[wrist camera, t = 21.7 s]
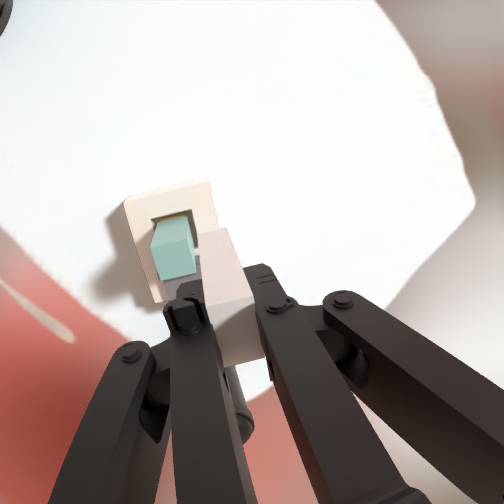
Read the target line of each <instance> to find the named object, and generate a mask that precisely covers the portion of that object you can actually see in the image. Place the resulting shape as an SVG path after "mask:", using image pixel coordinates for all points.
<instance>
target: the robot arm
mask: <svg viewBox="0 0 504 504" xmlns="http://www.w3.org/2000/svg"><path fill="white" fill-rule="evenodd" d="M12 5H13V0H0V36H1V34H2V32H3V31H4V29H5V27H6V25H7V23H8V20H9V18H10V15H11V11H12ZM197 238H198V248H199V257H200V265H201V274H202V279H198V280H193V281H189V282H185V283H181V284H180V286H179V287H178V289H177V290H176V298H175V299H174V300H172V301H170V302H169V303H168V304H167V305H166V306H165V307H164V309H163V314H164V317H165V320H166V322H167V325H168V327H169V330H170V337H169V338H168V339H167V340H165V341H164V342H162V343H160V344H158V345H155V346H153V347H151V348H150V347H149V345H148V344H147V343H145V342H144V341H132V342H128V343H126V344H124V345H122V346H121V347H120V348H118V349H117V350H116V352H115V353H114V355H113V356H112V359H111V360H110V362H109V364H108V366H107V368H106V370H105V372H104V374H103V376H102V378H101V380H100V382H99V384H98V386H97V388H96V390H95V393H94V395H93V397H92V399H91V401H90V403H89V405H88V407H87V410H86V412H85V414H84V416H83V418H82V420H81V423H80V425H79V427H78V429H77V432H76V434H75V436H74V438H73V441H72V443H71V445H70V448H69V450H68V453H67V455H66V458H65V460H64V462H63V465H62V467H61V470H60V472H59V475H58V477H57V480H56V483H55V485H54V488H53V490H52V493H51V496H50V499H49V502H48V504H154V502H155V497H156V493H157V488H158V483H159V479H160V474H161V469H162V466H163V461H164V457H165V453H166V448H167V444H168V440H169V435H170V431H171V430H172V448H173V463H174V476H175V487H176V496H177V497H176V498H177V504H258V502H257V499H256V495H255V491H254V487H253V484H252V480H251V476H250V473H249V468H248V464H247V461H246V456H245V452H244V448H243V444H242V440H241V436H240V432H239V428H238V423H237V419H236V415H235V410H234V406H233V401H232V397H231V392H230V388H229V383H228V378H227V375H226V372H225V369H224V367H228V366H232V365H237V364H241V363H245V362H249V361H253V360H257V359H261V358H264V357H265V356H266V361H267V366H268V371H269V377H270V381H273V383H274V386H275V389H276V392H277V394H278V397H279V400H280V403H281V405H282V408H283V411H284V413H285V416H286V419H287V422H288V424H289V427H290V430H291V432H292V435H293V438H294V441H295V443H296V446H297V448H298V451H299V454H300V456H301V459H302V461H303V464H304V467H305V469H306V472H307V474H308V477H309V480H310V482H311V485H312V487H313V490H314V492H315V495H316V498H317V500H318V503H319V504H431V502H430V501H429V499H428V498H427V497H426V495H425V494H424V493H422V492H421V491H420V490H419V489H415V488H412V487H410V486H408V485H407V484H406V483H405V481H404V480H403V478H402V477H401V475H400V473H399V471H398V470H397V468H396V466H395V464H394V463H393V461H392V459H391V457H390V456H389V454H388V452H387V451H386V449H385V448H384V446H383V444H382V442H381V440H380V439H379V437H378V435H377V434H376V432H375V431H374V429H373V427H372V425H371V423H370V422H369V420H368V419H367V417H366V415H365V413H364V412H363V410H362V408H361V407H360V405H359V403H358V402H357V400H356V398H355V397H354V395H353V393H354V394H355V395H356V396H357V397H358V398H359V399H360V400H361V401H363V403H365V404H366V405H367V406H368V407H369V408H370V409H371V410H372V411H373V412H374V413H375V414H376V415H377V416H379V417H380V418H381V419H382V420H383V421H384V422H385V423H386V424H387V425H388V426H389V427H390V428H391V429H392V430H394V431H395V432H396V433H397V434H398V435H399V436H400V437H401V438H402V439H404V441H406V442H407V443H408V444H409V445H410V446H411V447H412V448H413V449H414V450H416V451H417V452H418V453H419V454H420V455H421V456H422V457H423V458H425V459H426V460H427V461H428V462H429V463H430V464H431V465H432V466H433V467H435V468H436V469H437V470H438V471H439V472H440V473H442V474H443V475H444V476H445V477H446V478H447V479H448V480H450V481H451V482H452V483H453V484H454V485H455V486H456V487H458V488H459V489H460V490H461V491H462V492H464V493H465V494H466V495H467V496H469V497H470V498H471V499H473V500H474V501H475V502H477V503H478V504H504V390H503V389H501V388H500V387H498V386H497V385H496V384H494V383H493V382H491V381H490V380H488V379H487V378H485V377H484V376H482V375H480V374H479V373H478V372H476V371H475V370H473V369H472V368H471V367H469V366H468V365H466V364H465V363H463V362H462V361H460V360H458V359H457V358H456V357H454V356H453V355H451V354H450V353H448V352H447V351H445V350H444V349H442V348H441V347H439V346H438V345H436V344H435V343H433V342H432V341H430V340H428V339H427V338H426V337H424V336H422V335H421V334H419V333H418V332H416V331H415V330H413V329H411V328H410V327H409V326H407V325H406V324H404V323H403V322H401V321H399V320H398V319H396V318H395V317H393V316H392V315H390V314H389V313H387V312H386V311H384V310H382V309H381V308H379V307H378V306H376V305H375V304H373V303H371V302H370V301H368V300H367V299H365V298H364V297H362V296H360V295H359V294H357V293H355V292H352V291H346V290H341V291H335V292H332V293H330V294H328V295H327V296H325V298H324V299H323V305H318V306H303V305H299V304H298V303H297V301H296V300H295V299H294V298H292V297H289V296H287V295H286V293H285V291H284V290H283V288H282V286H281V285H280V283H279V281H278V280H277V278H276V276H275V275H274V273H273V271H272V269H271V268H270V267H269V266H267V265H265V264H263V263H262V264H258V265H253V266H249V267H245V268H242V266H241V264H240V261H239V259H238V256H237V254H236V251H235V249H234V246H233V244H232V241H231V239H230V236H229V234H228V231H227V229H226V228H223V229H219V230H214V231H210V232H206V233H201V234H197ZM264 353H265V355H264ZM351 391H352V392H353V393H352V392H351Z"/></svg>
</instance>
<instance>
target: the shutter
mask: <svg viewBox="0 0 504 504" xmlns="http://www.w3.org/2000/svg"><path fill="white" fill-rule="evenodd" d="M195 264H196V273H193V274H188V275H184V276H180V277H175V278H171V279H167V280H163V283H164V286H165V289H166V292H167V295H168V298H169V301H172V300H174V299H175V298H176V290H177V289H178V287H179V286H180V284H181V283H185V282H189V281H193V280H198V279H202V274H201V265H200V257H199V255H196V256H195ZM157 276H158V279H159V281H161V280H160V277H159V274H158V271H157Z"/></svg>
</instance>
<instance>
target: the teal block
mask: <svg viewBox="0 0 504 504" xmlns="http://www.w3.org/2000/svg"><path fill="white" fill-rule="evenodd" d="M150 248H151V252H152V255H153V258H154V261H155V264H156V267H157V271H158V274H159V277H160V280H161V281H162V280H167V279H171V278H175V277H180V276H184V275H188V274H193V273H196V264H195V252H194V242H193V238H192V234H191V230H190V226H189V222H188V218H187V214H186V212H182V213H177V214H173V215H169V216H165V217H161V219H160V222H158V223H157V226H156V229H155V233H154V236H153V240H152V243H151V247H150Z"/></svg>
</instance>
